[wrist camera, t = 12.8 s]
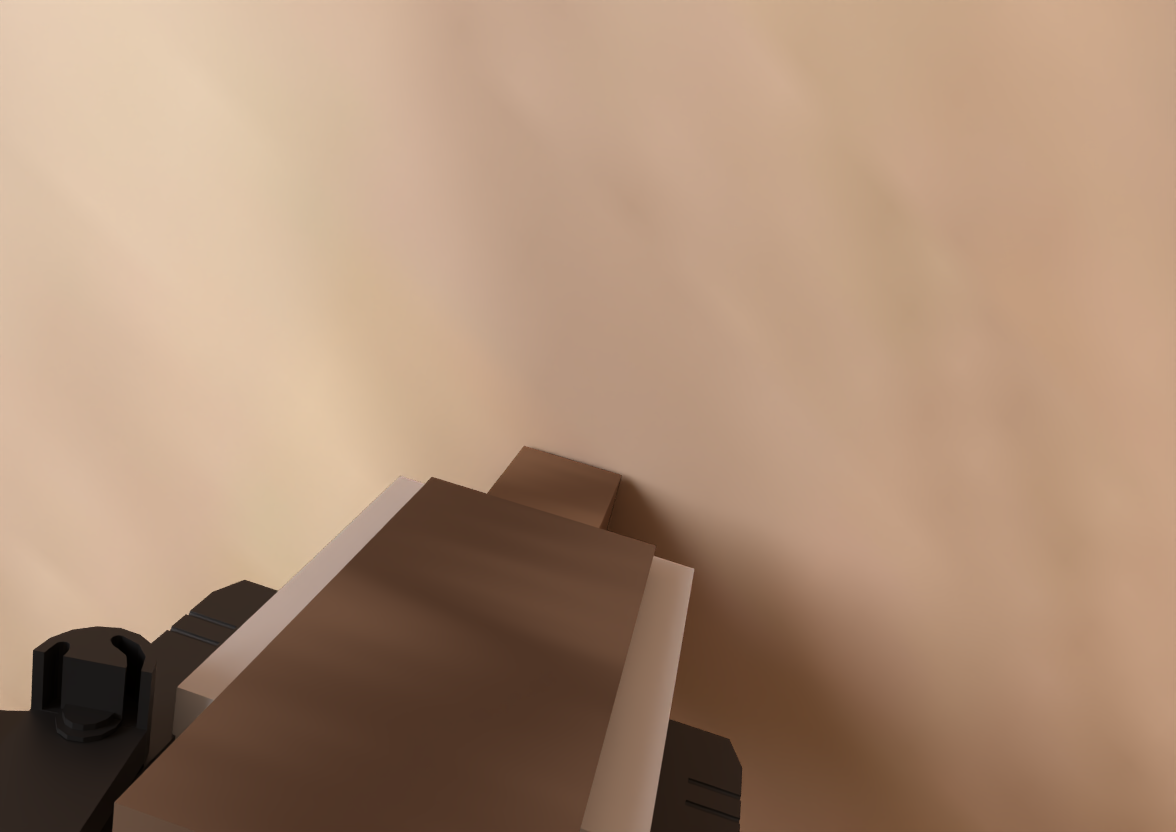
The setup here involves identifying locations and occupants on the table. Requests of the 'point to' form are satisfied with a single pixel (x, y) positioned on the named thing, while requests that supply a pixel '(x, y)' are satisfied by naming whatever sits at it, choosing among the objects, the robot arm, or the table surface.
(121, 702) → the robot arm
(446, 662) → the crook
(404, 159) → the table surface
